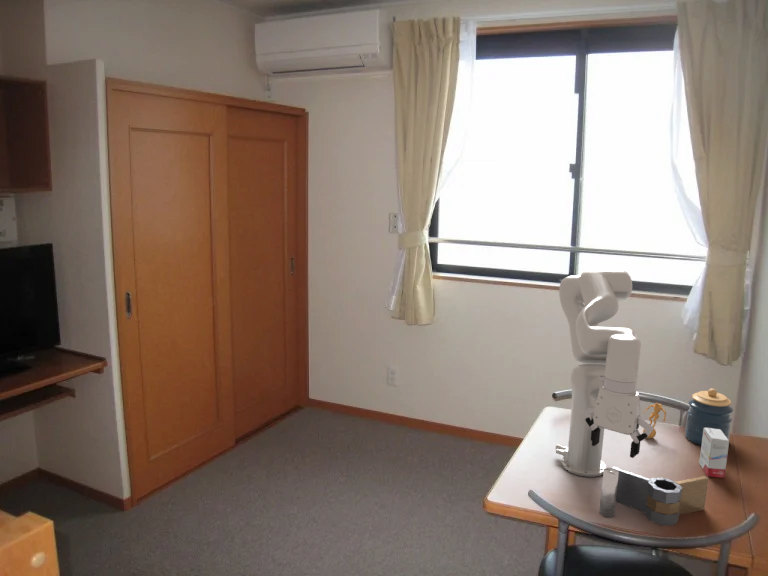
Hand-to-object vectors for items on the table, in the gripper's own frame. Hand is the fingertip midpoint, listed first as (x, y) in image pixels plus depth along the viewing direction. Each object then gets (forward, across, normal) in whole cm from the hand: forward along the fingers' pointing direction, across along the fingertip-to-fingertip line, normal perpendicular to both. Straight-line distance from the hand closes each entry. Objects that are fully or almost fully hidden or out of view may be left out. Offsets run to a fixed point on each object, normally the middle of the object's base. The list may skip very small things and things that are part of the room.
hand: (614, 450), depth 159 cm
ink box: (+18, +14, +45) cm, 50 cm away
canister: (+17, +6, +67) cm, 69 cm away
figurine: (+17, -8, +56) cm, 59 cm away
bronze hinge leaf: (+18, +13, +13) cm, 26 cm away
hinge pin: (+18, 0, +1) cm, 18 cm away
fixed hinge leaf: (+18, +6, +9) cm, 21 cm away
